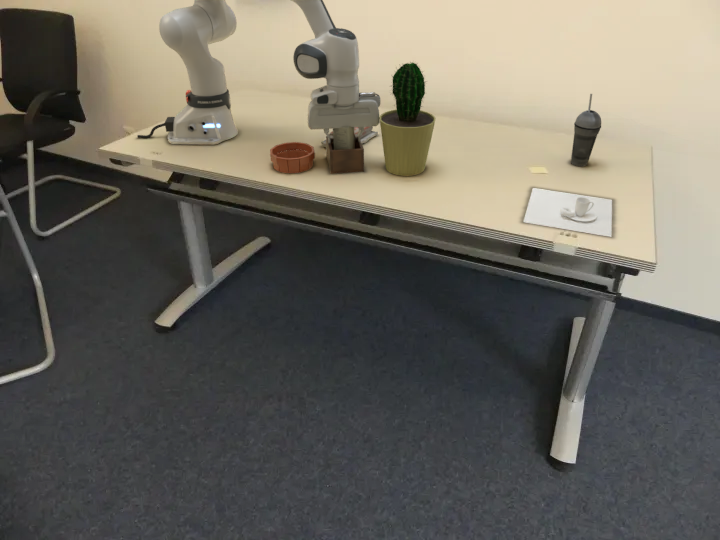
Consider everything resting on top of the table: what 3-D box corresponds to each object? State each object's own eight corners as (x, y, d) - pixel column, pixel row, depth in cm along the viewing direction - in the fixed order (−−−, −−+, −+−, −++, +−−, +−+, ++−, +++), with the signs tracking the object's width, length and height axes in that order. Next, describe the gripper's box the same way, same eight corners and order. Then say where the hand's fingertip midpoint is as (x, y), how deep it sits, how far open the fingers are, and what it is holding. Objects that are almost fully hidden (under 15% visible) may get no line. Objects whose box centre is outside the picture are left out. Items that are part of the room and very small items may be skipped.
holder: (330, 173, 158) (329, 151, 154) (326, 157, 168) (325, 136, 164) (364, 171, 159) (364, 149, 156) (358, 155, 169) (358, 134, 165)
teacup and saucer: (558, 219, 136) (561, 204, 133) (560, 204, 142) (563, 190, 140) (596, 225, 133) (600, 210, 131) (597, 210, 139) (601, 196, 137)
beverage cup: (579, 170, 159) (595, 100, 148) (560, 161, 165) (574, 93, 153) (597, 165, 162) (614, 96, 151) (578, 156, 167) (594, 89, 156)
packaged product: (352, 115, 184) (378, 121, 180) (353, 129, 187) (378, 135, 183) (320, 132, 172) (346, 138, 168) (321, 146, 175) (347, 153, 170)
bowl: (271, 175, 157) (270, 160, 155) (271, 158, 168) (269, 143, 165) (316, 172, 159) (315, 157, 156) (313, 155, 169) (312, 140, 167)
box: (355, 159, 164) (355, 122, 157) (349, 165, 160) (348, 127, 154) (339, 156, 165) (338, 120, 159) (333, 161, 162) (332, 124, 156)
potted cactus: (423, 155, 169) (430, 51, 152) (438, 176, 156) (447, 66, 139) (374, 159, 167) (375, 54, 150) (384, 181, 154) (387, 69, 137)
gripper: (378, 88, 156) (377, 135, 163) (305, 91, 153) (308, 139, 161) (382, 95, 151) (381, 143, 158) (307, 98, 148) (309, 148, 156)
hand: (343, 141), depth 160 cm, fingers closed on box, 6 cm apart
